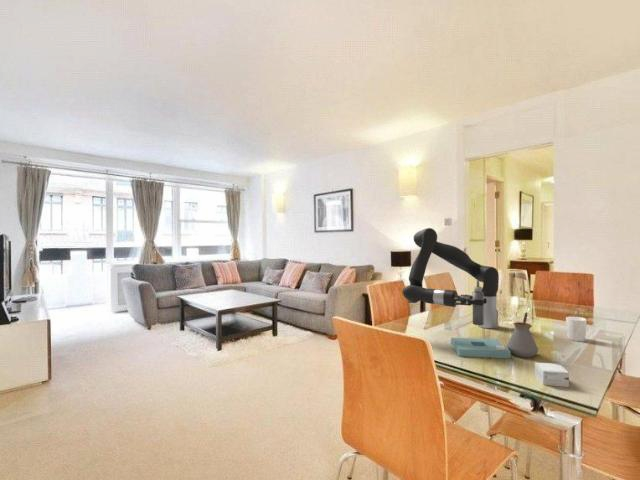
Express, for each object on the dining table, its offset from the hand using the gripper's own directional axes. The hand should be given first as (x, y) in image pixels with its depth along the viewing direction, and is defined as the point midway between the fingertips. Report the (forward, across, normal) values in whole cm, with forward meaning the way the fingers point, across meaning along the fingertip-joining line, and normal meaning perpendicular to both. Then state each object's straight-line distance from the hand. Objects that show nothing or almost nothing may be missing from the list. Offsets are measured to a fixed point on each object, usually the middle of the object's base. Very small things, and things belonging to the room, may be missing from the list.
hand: (484, 302), depth 145 cm
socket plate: (-3, 0, +22) cm, 22 cm away
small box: (+25, -17, +22) cm, 38 cm away
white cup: (+30, +44, +22) cm, 58 cm away
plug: (-3, 0, +10) cm, 10 cm away
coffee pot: (+13, +11, +22) cm, 28 cm away
